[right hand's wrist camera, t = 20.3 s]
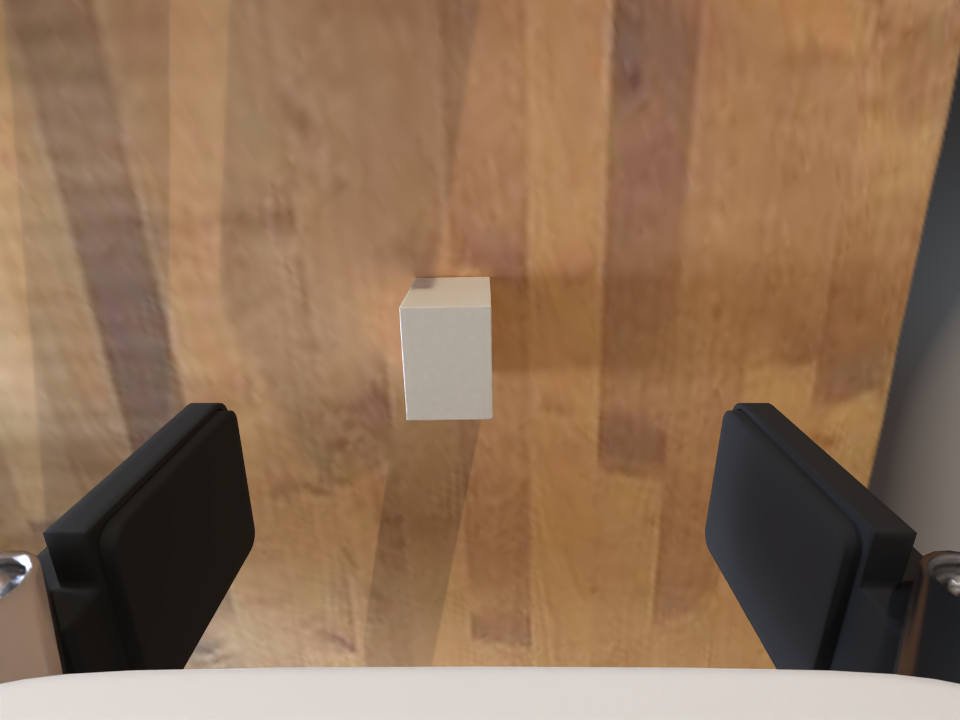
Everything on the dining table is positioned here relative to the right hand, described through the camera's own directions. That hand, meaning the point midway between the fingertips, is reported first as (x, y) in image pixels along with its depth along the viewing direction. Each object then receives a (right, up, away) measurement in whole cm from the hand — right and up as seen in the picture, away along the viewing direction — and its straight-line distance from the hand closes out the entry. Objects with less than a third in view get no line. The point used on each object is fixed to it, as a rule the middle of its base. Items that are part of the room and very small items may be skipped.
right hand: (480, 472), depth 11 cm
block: (-2, +5, +29) cm, 29 cm away
